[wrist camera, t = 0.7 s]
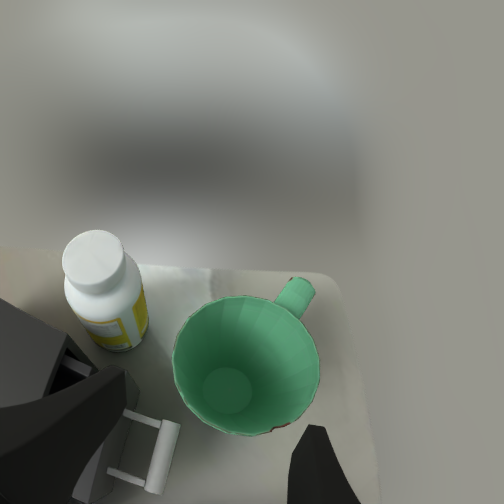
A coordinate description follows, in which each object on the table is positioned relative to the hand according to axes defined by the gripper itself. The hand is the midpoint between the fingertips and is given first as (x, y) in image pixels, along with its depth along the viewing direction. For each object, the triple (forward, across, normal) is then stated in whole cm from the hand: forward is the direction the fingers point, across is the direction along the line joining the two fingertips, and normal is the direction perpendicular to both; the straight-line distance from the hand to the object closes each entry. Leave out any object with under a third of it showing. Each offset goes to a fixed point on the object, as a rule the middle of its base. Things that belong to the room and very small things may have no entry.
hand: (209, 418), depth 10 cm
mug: (+16, 0, +10) cm, 18 cm away
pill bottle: (+15, +13, +8) cm, 21 cm away
